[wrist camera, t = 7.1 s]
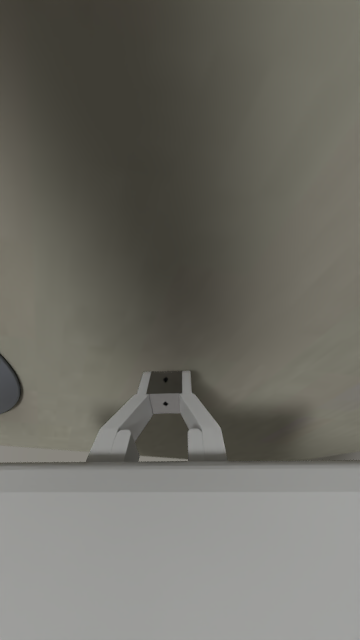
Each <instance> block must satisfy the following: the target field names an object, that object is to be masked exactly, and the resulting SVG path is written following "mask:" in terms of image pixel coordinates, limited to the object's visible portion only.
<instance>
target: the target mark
mask: <svg viewBox="0 0 360 640" xmlns="http://www.w3.org/2000/svg"><path fill="white" fill-rule="evenodd" d="M19 397H20V385H19V382H18V379H17V377H16V375H15V373H14V371H13V370H12V368H11V367H10V366H9V364H8V363H7V362H6V361H5V360H4V358H3V357H2V356H1V355H0V414H1V413H4V412H6V411H8V410H9V409H11V408H12V407H13V406H14V405H15V404H16V403H17V402H18V400H19Z"/></svg>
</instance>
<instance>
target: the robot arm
mask: <svg viewBox="0 0 360 640" xmlns="http://www.w3.org/2000/svg"><path fill="white" fill-rule="evenodd" d="M161 413H181V415H182V417H183V419H184V421H185V423H186V425H187V427H188V428H189V431H188V461H175V462H174V461H170V462H169V461H167V462H138V461H139V453H138V450H137V447H136V445H135V441H136V439H137V438H138V436H139V435H140V433H141V432H142V430H143V429H144V427H145V426H146V424H147V423H148V422H149V420H150V419H151V417H152V416H153V414H161ZM0 640H360V460H325V461H324V460H321V461H228V460H227V455H226V450H225V445H224V441H223V436H222V431H221V427H220V426H219V425H218V424H217V422H216V421H215V420H214V418H213V417H212V416H211V415H210V413H209V412H208V411H207V409H206V408H205V407H204V405H203V404H202V403H201V402H200V400H199V399H198V398H197V396H196V395H195V394H192V388H191V374H190V371H167V372H154V371H152V372H144V373H143V375H142V378H141V381H140V385H139V388H138V392H137V395H133V396H132V397H131V398H130V399H129V400H128V401H127V402H126V403H125V404H124V405H123V406H122V407H121V408H120V409H119V410H118V411H117V412H116V413H115V414H114V415H113V416H112V417H111V418H110V419H109V420H108V421H107V422H106V423H105V424H104V425H103V426H102V427H101V428H100V430H99V432H98V435H97V437H96V439H95V441H94V444H93V446H92V448H91V451H90V453H89V455H88V458H87V460H86V462H35V463H34V462H33V463H32V462H27V463H26V462H23V463H0Z"/></svg>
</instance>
